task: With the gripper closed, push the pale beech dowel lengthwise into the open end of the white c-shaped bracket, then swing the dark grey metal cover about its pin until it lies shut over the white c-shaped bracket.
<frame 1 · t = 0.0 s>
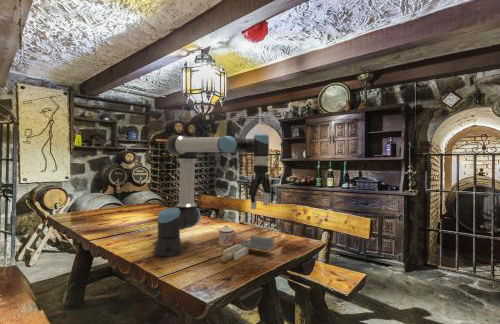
hand: (260, 207, 139), 28 cm above the table, fingers open, 13 cm apart
cover: (256, 242, 153), point 6 cm above the table, hinge at 90.0°
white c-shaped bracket: (236, 255, 149), on the table
teacup with lid: (227, 244, 169), on the table
dowel: (226, 260, 141), on the table
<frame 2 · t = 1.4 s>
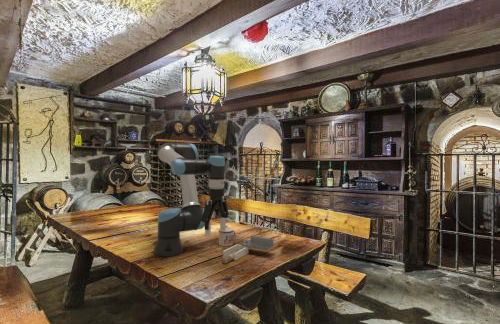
hand: (215, 233, 132), 16 cm above the table, fingers open, 11 cm apart
dowel: (226, 259, 141), on the table, tilted 50°
everything else where it was.
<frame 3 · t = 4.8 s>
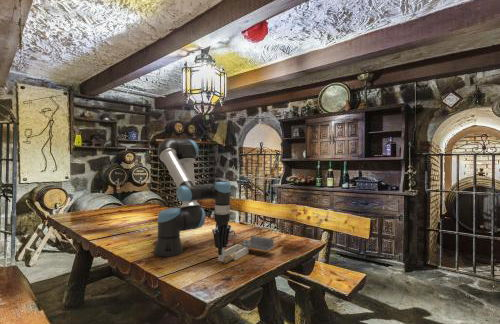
hand: (221, 260, 137), 1 cm above the table, fingers closed
dowel: (227, 259, 141), on the table, tilted 50°, touching gripper
everything else where it was.
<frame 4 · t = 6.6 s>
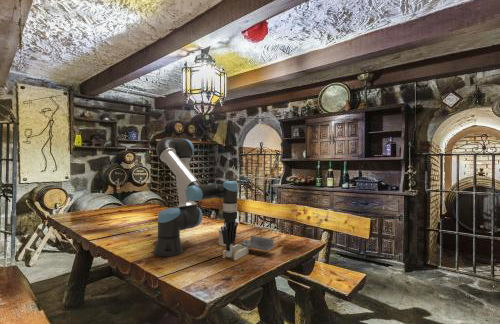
hand: (229, 256, 143), 1 cm above the table, fingers closed
dowel: (234, 255, 147), point 1 cm above the table, tilted 49°, touching gripper
everything else where it was.
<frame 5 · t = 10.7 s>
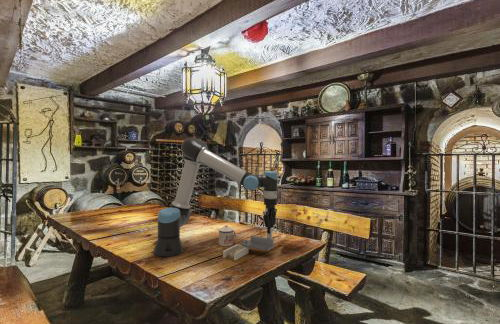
hand: (269, 238, 159), 6 cm above the table, fingers closed
dowel: (234, 256, 147), resting in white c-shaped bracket, tilted 22°
everything else where it was.
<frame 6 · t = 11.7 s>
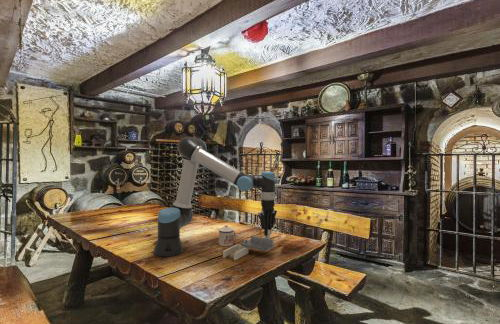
hand: (267, 241, 155), 6 cm above the table, fingers closed
cover: (256, 242, 153), point 6 cm above the table, hinge at 86.4°, touching gripper
dowel: (234, 255, 147), resting in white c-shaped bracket, tilted 36°
everything else where it was.
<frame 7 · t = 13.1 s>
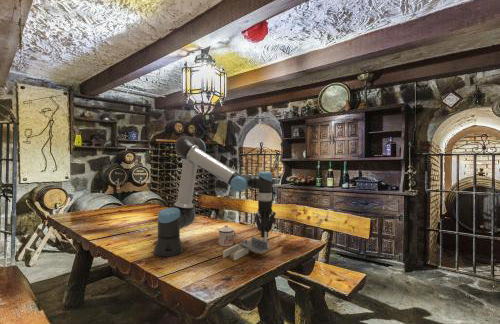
hand: (264, 243, 150), 6 cm above the table, fingers closed
cover: (252, 243, 151), point 6 cm above the table, hinge at 64.9°, touching gripper
dowel: (234, 255, 147), resting in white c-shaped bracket, tilted 49°
everything else where it was.
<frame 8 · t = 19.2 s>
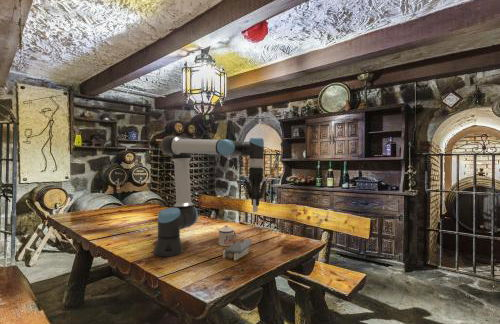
hand: (255, 211, 146), 24 cm above the table, fingers closed
cover: (239, 243, 150), point 6 cm above the table, hinge at 8.3°
dowel: (233, 256, 148), resting in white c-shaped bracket, tilted 12°
everything else where it was.
at the end: dowel inside the target area (2.3 cm from its centre), resting in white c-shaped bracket; cover at +8° (first picture: +90°) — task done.
